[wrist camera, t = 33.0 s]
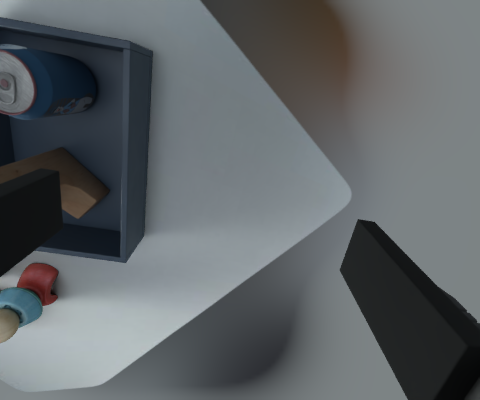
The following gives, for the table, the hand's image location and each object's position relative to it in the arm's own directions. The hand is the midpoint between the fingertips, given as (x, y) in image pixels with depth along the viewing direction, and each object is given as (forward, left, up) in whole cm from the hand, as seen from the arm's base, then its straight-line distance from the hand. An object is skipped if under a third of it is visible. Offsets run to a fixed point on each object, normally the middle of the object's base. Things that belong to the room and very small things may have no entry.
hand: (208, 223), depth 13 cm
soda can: (-3, -21, -29) cm, 36 cm away
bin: (+5, -21, -30) cm, 37 cm away
